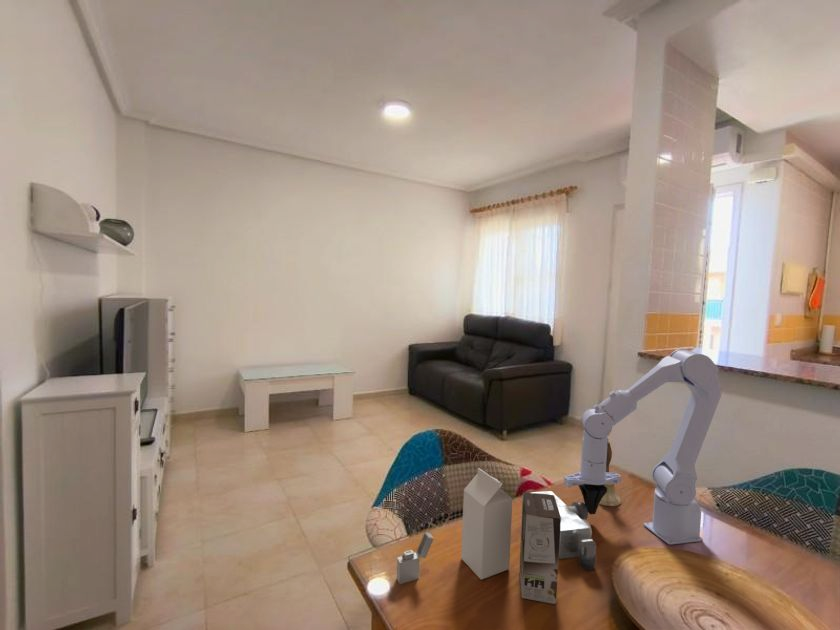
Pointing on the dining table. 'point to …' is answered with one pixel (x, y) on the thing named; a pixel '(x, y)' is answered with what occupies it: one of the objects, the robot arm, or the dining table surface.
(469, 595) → the dining table surface
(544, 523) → the coffee box
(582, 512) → the knob black
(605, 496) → the hand bell
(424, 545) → the lighter
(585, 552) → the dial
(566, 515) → the mount
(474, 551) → the milk carton
